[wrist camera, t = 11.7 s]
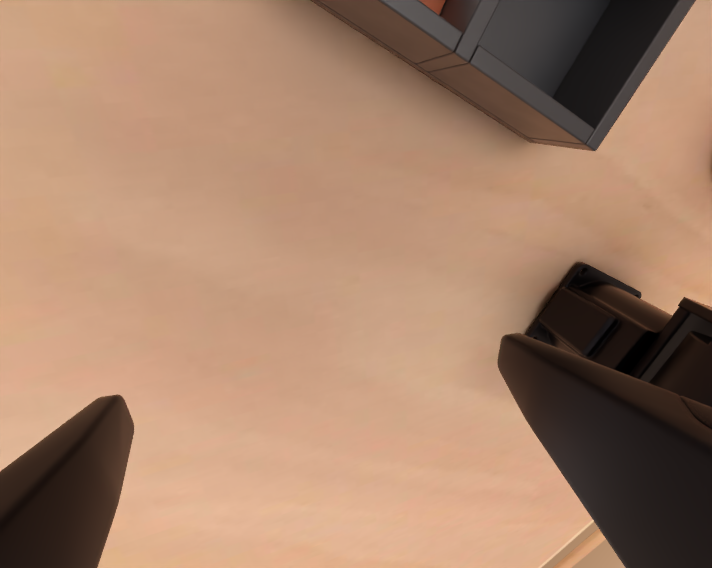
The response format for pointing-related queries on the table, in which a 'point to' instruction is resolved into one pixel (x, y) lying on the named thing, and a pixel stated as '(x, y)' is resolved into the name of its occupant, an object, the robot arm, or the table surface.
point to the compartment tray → (527, 55)
